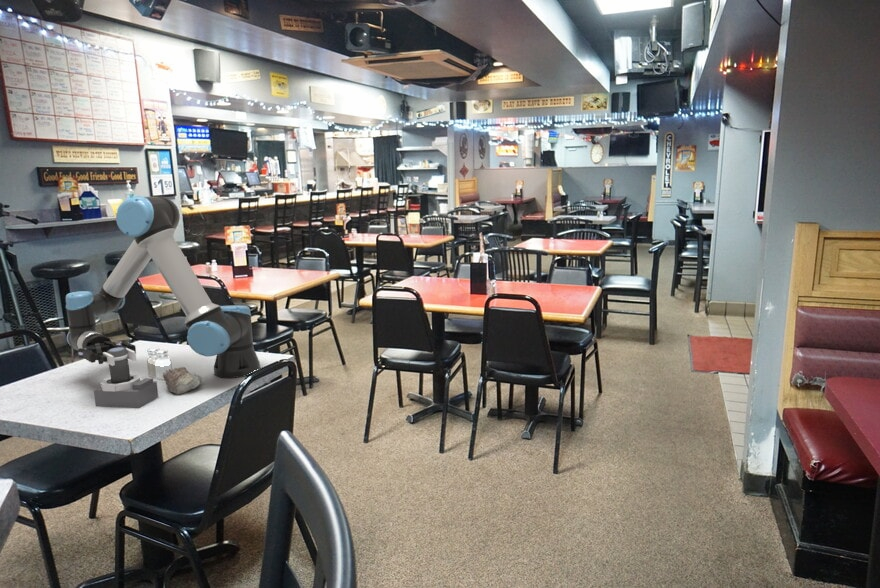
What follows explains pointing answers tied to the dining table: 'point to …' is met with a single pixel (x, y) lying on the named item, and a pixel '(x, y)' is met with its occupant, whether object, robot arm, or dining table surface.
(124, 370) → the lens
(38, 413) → the dining table surface
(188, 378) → the grey brown rock
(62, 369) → the dining table surface
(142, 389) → the pen holder base
